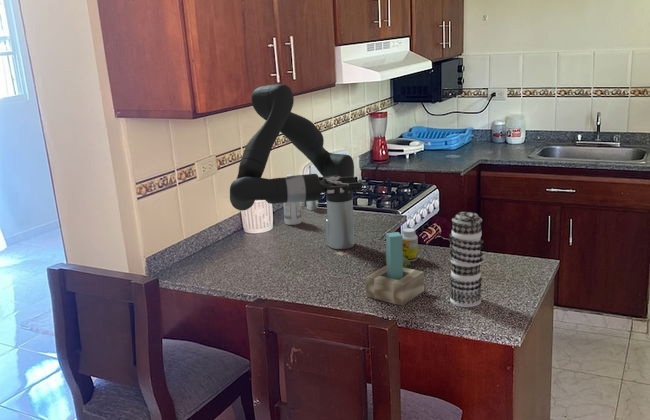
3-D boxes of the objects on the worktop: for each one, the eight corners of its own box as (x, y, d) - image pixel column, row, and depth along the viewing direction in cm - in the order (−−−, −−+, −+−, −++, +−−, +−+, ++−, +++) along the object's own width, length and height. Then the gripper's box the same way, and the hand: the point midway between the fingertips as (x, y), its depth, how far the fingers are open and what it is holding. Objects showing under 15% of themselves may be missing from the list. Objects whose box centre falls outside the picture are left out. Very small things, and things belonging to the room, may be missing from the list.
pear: (396, 245, 201) (416, 258, 194) (394, 260, 203) (414, 273, 196) (382, 249, 198) (402, 262, 191) (381, 264, 201) (401, 277, 193)
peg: (391, 290, 175) (390, 237, 171) (386, 285, 178) (385, 233, 174) (403, 288, 176) (402, 235, 172) (398, 284, 179) (397, 231, 175)
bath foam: (300, 219, 255) (297, 172, 250) (302, 224, 249) (299, 176, 243) (283, 221, 254) (280, 174, 249) (285, 226, 248) (282, 177, 242)
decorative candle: (443, 296, 174) (443, 211, 168) (473, 292, 176) (474, 208, 169) (456, 309, 166) (457, 220, 159) (488, 305, 168) (490, 216, 161)
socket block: (366, 296, 177) (365, 276, 175) (388, 282, 186) (388, 264, 184) (402, 305, 170) (402, 285, 168) (423, 291, 179) (423, 271, 177)
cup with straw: (325, 206, 274) (322, 162, 269) (316, 212, 266) (314, 166, 261) (307, 205, 277) (305, 161, 272) (298, 210, 269) (296, 165, 264)
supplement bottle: (398, 257, 207) (397, 228, 204) (413, 255, 208) (413, 226, 205) (405, 263, 201) (404, 233, 199) (420, 260, 203) (420, 231, 200)
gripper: (305, 180, 164) (364, 175, 167) (296, 170, 177) (351, 165, 180) (307, 207, 166) (365, 201, 169) (298, 195, 179) (352, 190, 182)
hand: (358, 183), depth 174 cm, fingers open, 8 cm apart
